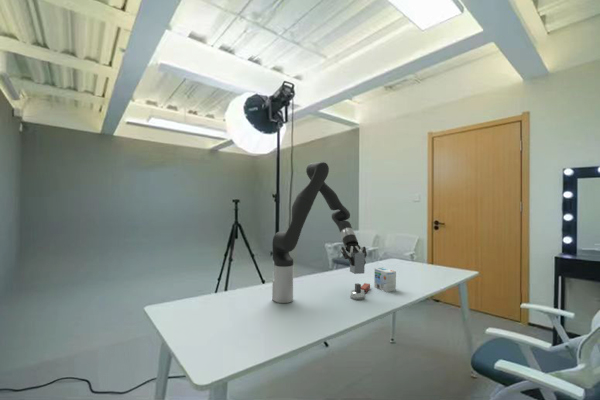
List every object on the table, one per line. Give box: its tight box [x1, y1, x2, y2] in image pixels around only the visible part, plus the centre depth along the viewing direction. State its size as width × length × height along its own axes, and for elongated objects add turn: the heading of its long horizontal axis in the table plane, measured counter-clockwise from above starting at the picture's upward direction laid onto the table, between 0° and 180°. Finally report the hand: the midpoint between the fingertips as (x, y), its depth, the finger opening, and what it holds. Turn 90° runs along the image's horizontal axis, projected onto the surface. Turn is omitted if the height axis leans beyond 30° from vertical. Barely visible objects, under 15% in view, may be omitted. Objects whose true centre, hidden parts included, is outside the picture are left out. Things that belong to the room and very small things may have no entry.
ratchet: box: [350, 282, 371, 301], centre depth 150 cm, size 23×7×7 cm, turn 153°
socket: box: [349, 252, 366, 275], centre depth 144 cm, size 5×5×10 cm
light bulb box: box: [373, 267, 397, 293], centre depth 159 cm, size 11×7×11 cm, turn 25°
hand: (358, 264), depth 143 cm, fingers closed on socket, 5 cm apart
